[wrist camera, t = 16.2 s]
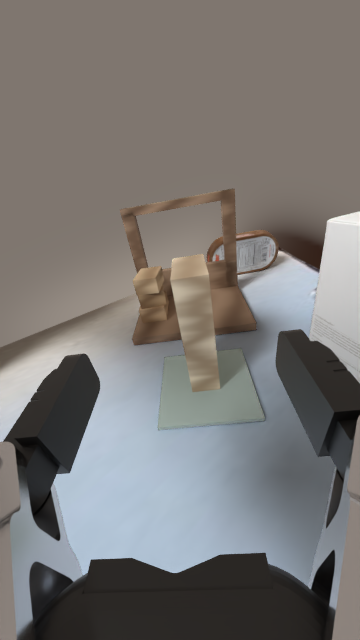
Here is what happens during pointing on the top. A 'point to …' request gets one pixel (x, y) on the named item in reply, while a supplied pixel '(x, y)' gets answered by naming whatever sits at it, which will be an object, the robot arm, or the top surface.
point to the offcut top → (148, 280)
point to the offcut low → (155, 312)
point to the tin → (248, 251)
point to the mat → (208, 395)
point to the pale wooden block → (196, 320)
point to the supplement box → (340, 292)
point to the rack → (224, 288)
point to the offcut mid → (152, 299)
